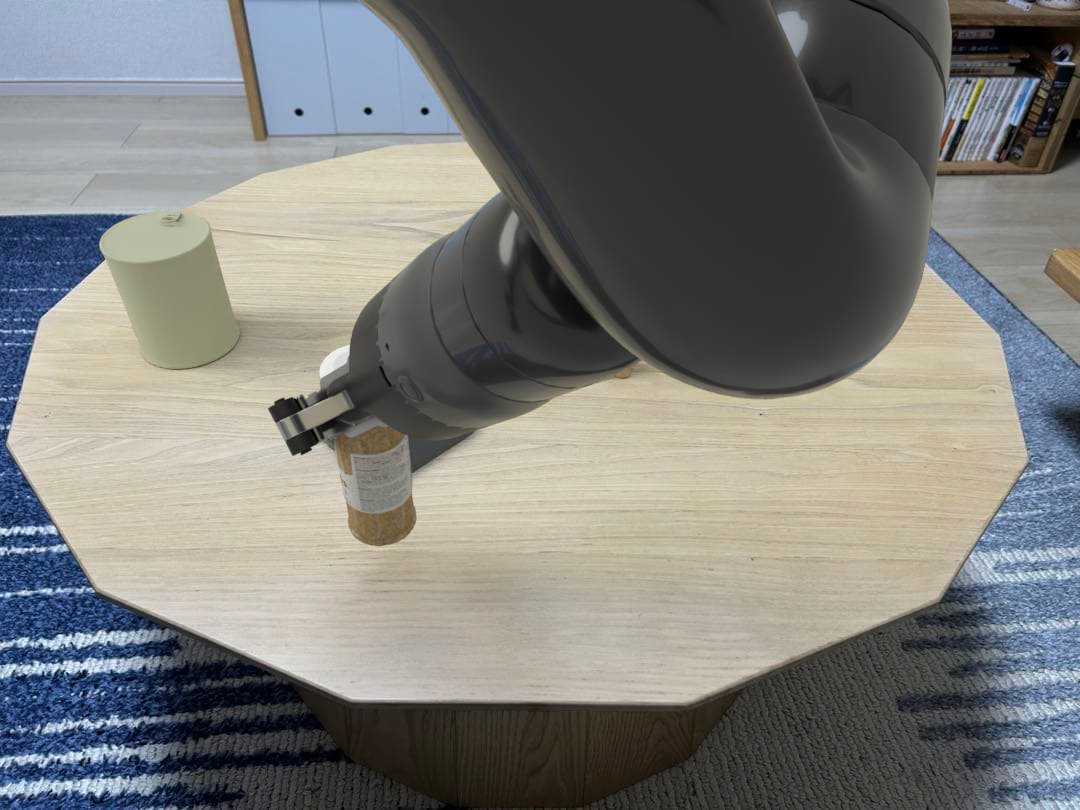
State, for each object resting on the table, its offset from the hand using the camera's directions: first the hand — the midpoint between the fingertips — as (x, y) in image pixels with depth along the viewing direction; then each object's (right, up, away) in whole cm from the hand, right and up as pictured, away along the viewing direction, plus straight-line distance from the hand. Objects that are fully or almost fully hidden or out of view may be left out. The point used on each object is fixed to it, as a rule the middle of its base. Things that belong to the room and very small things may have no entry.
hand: (351, 405), depth 46 cm
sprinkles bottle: (+1, -8, +5) cm, 9 cm away
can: (-23, +6, +29) cm, 38 cm away
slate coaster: (-1, -2, +21) cm, 21 cm away
